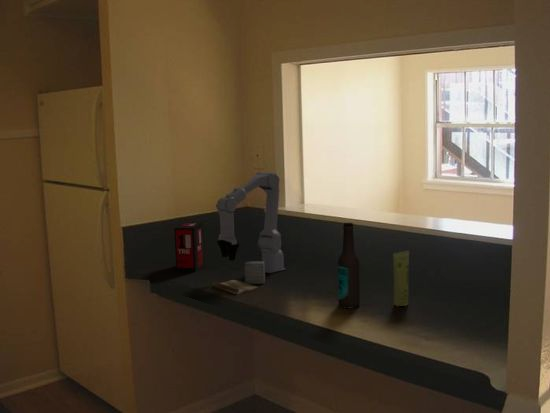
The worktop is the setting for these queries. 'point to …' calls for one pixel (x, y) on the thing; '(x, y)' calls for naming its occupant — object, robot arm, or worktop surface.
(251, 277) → the medicine box
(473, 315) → the worktop surface
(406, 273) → the tube
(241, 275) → the worktop surface
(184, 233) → the cleaning product box
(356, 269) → the beer bottle
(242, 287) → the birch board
